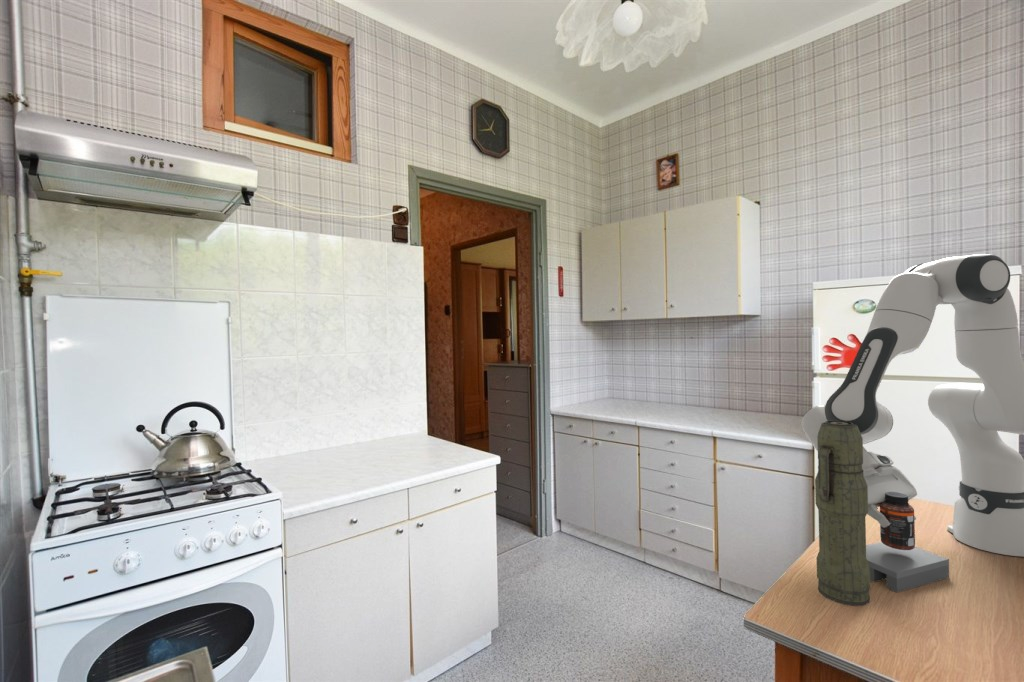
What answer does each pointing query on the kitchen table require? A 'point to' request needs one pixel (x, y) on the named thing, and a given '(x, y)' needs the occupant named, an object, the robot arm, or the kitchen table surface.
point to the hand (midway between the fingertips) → (900, 523)
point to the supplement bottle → (898, 522)
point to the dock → (905, 566)
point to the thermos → (842, 515)
